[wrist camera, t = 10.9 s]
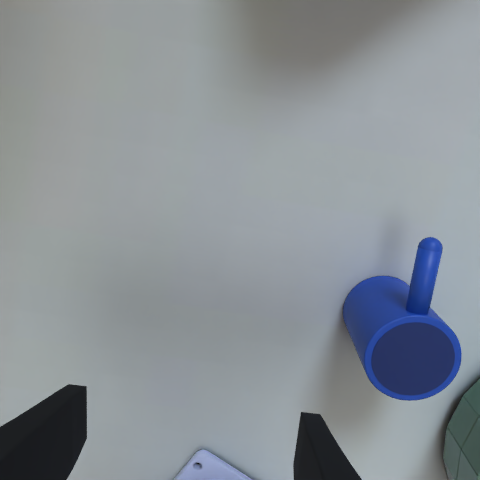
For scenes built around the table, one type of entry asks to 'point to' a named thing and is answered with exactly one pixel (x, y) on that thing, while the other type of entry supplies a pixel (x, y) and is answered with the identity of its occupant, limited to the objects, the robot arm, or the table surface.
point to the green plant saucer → (464, 438)
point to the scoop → (403, 331)
